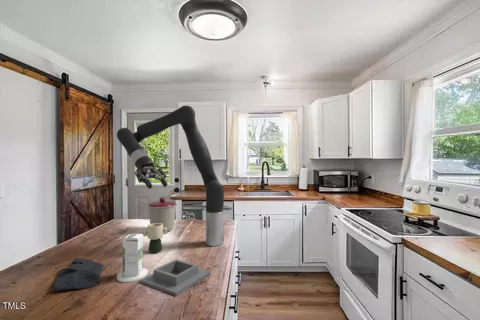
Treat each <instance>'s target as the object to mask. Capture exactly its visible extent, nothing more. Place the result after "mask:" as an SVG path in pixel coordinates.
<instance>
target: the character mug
mask: <svg viewBox="0 0 480 320" xmlns="http://www.w3.org/2000/svg"><path fill="white" fill-rule="evenodd" d="M164 229H165V232H163V230H164ZM146 232H147V233H146ZM142 233H143V237H147V239H149V244H148V252H150V253H159V252H161V251H162V250H163V245H162V238H163V235H166V234H167V233H168V232H167V228H166V227H165V228H163V224H161V223H153V224H150V223H149V224H147V228H145V229H143V231H142Z"/></svg>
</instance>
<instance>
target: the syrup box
mask: <svg viewBox="0 0 480 320" xmlns="http://www.w3.org/2000/svg"><path fill="white" fill-rule="evenodd" d="M143 247H144V235H143V234H142V233H129V234H127V235H126V236H125V237H124V238H122V270H121V272H122V276H138V275H139V273H140V272H141V271H142V268H144V267H143V263H144V262H143V260H144V259H143V257H144V255H143V253H144V249H143Z"/></svg>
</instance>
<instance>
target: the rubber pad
mask: <svg viewBox="0 0 480 320" xmlns="http://www.w3.org/2000/svg"><path fill="white" fill-rule="evenodd" d="M147 276H149V269H147V268H145V267H142V271H141V272H140V273H139V275H138V276H122V271H119V273H118V274H117V275H116V280H117V281H118V282H120V283H125V284H126V283H128V284H129V283H134V282H140V279H143V278H145V277H147Z"/></svg>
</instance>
